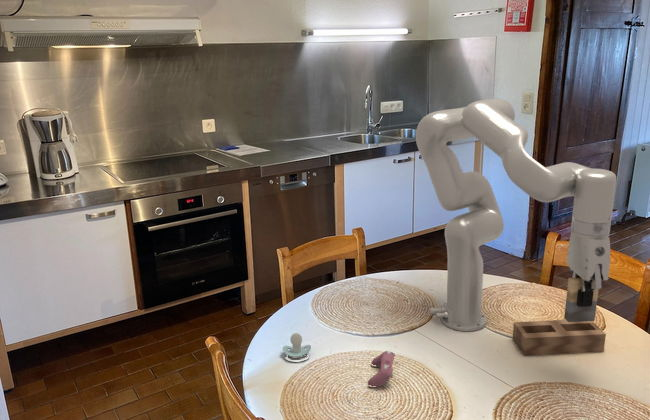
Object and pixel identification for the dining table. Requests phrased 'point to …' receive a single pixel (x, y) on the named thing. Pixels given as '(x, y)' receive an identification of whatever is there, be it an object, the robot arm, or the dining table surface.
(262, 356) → the dining table surface
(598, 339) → the hollow wooden brick
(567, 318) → the rail end
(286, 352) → the pacifier
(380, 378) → the purple curved piece
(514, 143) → the robot arm
